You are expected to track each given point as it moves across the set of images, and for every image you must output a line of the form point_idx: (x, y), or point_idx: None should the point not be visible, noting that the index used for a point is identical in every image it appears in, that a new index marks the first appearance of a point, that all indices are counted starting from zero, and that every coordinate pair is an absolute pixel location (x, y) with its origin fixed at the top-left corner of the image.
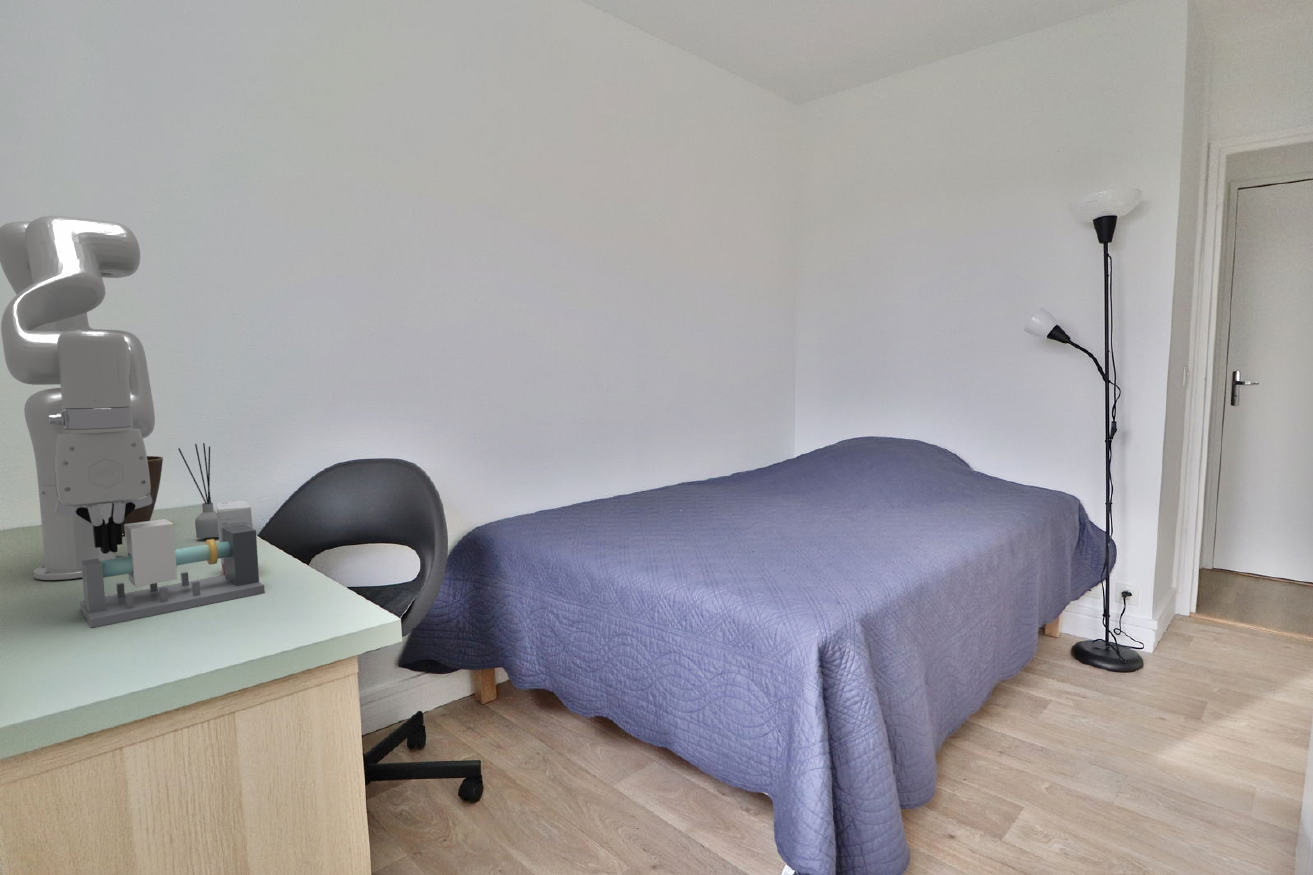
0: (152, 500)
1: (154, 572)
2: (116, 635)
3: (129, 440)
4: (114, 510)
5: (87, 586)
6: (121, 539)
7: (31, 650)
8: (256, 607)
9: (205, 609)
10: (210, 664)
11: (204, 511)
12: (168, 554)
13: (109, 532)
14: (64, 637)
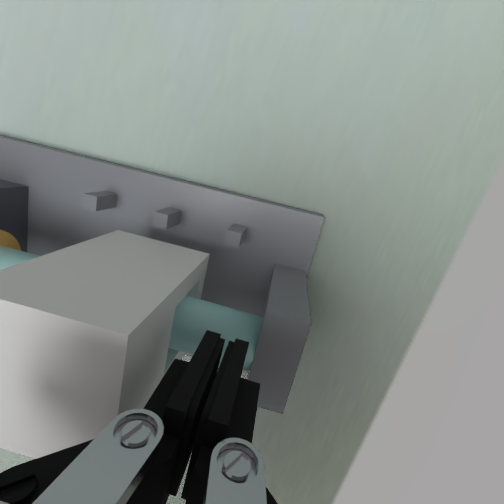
0: None
1: (153, 249)
2: (319, 104)
3: None
4: (121, 492)
5: (307, 295)
6: (172, 366)
7: (460, 163)
8: (48, 24)
9: (127, 126)
10: None
11: None
12: (86, 252)
13: (203, 396)
14: (381, 198)
